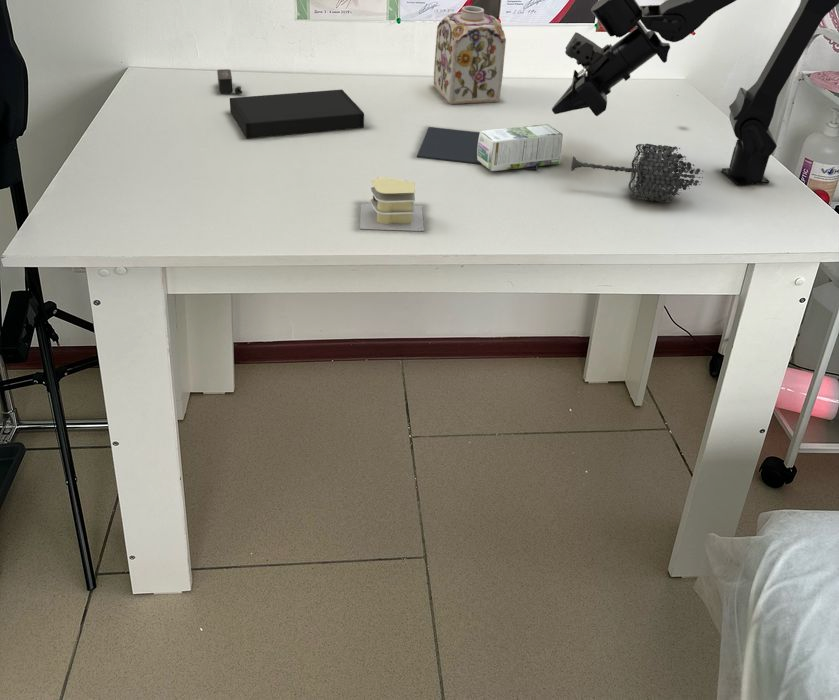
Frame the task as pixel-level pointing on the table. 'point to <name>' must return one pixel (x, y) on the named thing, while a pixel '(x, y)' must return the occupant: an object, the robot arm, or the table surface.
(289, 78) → the table surface
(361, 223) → the stacked layers on plate
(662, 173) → the grey chandelier
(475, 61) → the decorative jar
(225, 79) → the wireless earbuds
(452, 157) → the mat
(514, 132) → the syrup box
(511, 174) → the table surface
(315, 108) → the external hard drive
